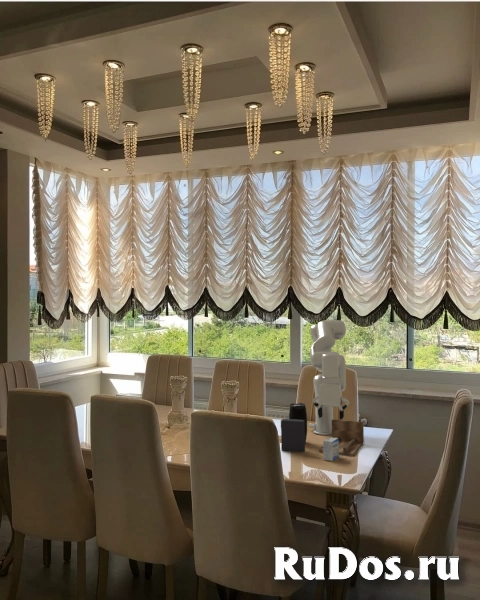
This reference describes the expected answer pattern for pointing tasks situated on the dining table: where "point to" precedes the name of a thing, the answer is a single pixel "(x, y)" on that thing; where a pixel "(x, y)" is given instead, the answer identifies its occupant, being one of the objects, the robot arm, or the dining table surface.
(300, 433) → the calculator
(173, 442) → the dining table surface
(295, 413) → the portable speaker
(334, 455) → the medicine box
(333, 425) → the book rack
